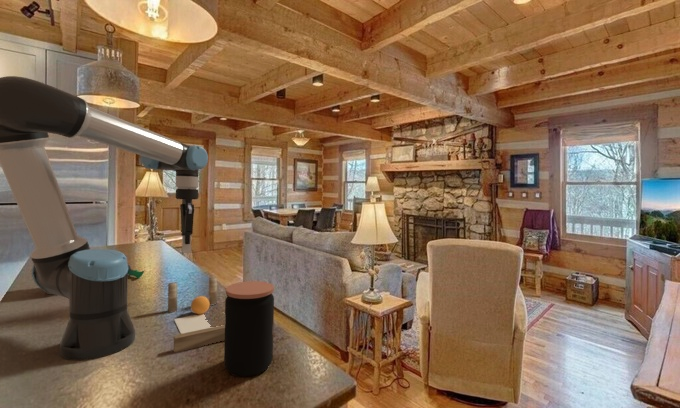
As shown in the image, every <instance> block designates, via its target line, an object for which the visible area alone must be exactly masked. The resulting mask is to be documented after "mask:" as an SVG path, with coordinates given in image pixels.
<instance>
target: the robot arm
mask: <svg viewBox="0 0 680 408" xmlns="http://www.w3.org/2000/svg"><path fill="white" fill-rule="evenodd" d="M49 134H55V135H59V136H63V137H65V138H69V139H72V138H75V137H77V136H78V137H80V138H83V139H87V140H90V141H94V142H97V143H100V144H103V145H107V146H110V147H112V148H117V149H119V150H123V151H126V152H129V153H131V154H134V155H139V156H140V161H141V162H140V163H141V164H142V166H143V167H144V168H145V169H147V170H154V171H155V170H158V171H159V170H160V171H172V172H175V187H176V189H175V198H176V200H182V201H181V203H180V206H179V209H180V228H181V229H180V232H181V238H182V239H181V242H182V243H181V245H182V247H181V250H182V251H181V253H182V254H191V253H192V235H193V232H194V231H193V230H194V229H193V227H194V215H195V204H193V200H198V199H199V189H198V188H199V183H200V182H201V180H200V179H199V175H200V174H199V173H200V172H199V171H200V170H202V169H205V167H206V166H207V164H208V161H209V156H208V155H209V154H208V152H207V150H206V149H205V148H204V147H202V146H201V145H195V144H192V145H189V144H186V143H183V142H180V141H177V140H175V139H173V138H169V137H168V136H164V135H163V134H160V133H158V132H155V131H153V130H150V129H148V128H144V127H143V126H140V125H137V124H135V123H133V122H130V121H127V120H124V119H122V118H119V117H118V116H115V115H114V114H109V113H108V112H104V111H102V110H99V109H98V108H94V107H92V106H89V105H88V102H87V100H85V99H84V98H82V97H79V96H77V95H74V94H72V93H69V92H67V91H64V90H62V89H59V88H56V87H55V86H52V85H49V84H47V83H43V82H41V81H39V80H36V79H32V78H29V77H24V76H15V75H12V76H11V75H9V76H6V75H5V76H1V77H0V167H1V169H2V171H3V174H4V176H5V178H6V181H7V183H8V185H9V188H10V191H11V193H12V196H13V197H14V200H15V201H16V204H17V206H18V209H19V212H20V214H21V217H22V218H23V221H24V223H25V226H26V227H27V230H28V233H29V235H30V237H31V240H32V243H33V245H34V249H33V251H32V252H31V253H30V255H29V256H30V259H31V261H32V264H33V265H34V266H33V265H32V268H31V278H32V280H33V282H34V284H36V286H37V287H38V288H40V289H41V290H42V291H44V292H45V293H46V292H48V293H50V294H49V295H56V296H60V297H63V298H65V299H69V300H68V301H69V302H68V303H69V304H68V305H69V307H68V308H69V309H68V310H69V316H68V317H69V319H68V322H67V325H66V327H65V330H64V332H63V334H62V338H61V341H60V343H59V356H60V357H61V358H63V359H65V360H70V361H81V360H82V361H83V360H90V359H91V360H92V359H97V358H100V357H105V356H109V355H111V354H114V353H117V352H120V351H121V350H124V349H126V348H128V347H129V346H131V345H132V344H133V343H134V341H135V340H136V329H135V326H134V323H133V321H132V318H131V316H130V314H129V311H128V276H129V274H128V265H129V264H128V257H127V256H126V254H125V253H123V252H122V251H119V250H116V249H105V248H91V247H90V245H89V242H88V240H87V239H86V238H85V237H82V236H79V235H78V232H77V231H76V228H75V225H74V222H73V219H72V217H71V215H70V212H69V209H68V207H67V204H66V201H65V199H64V195H63V194H62V190H61V188H60V185H59V183H58V179H57V177H56V174H55V172H54V168H53V167H52V164H51V163H52V162H51V161H50V158H49V156H48V154H47V150H46V148H45V146H46V144H47V143H48V141H49V140H50V136H49Z"/></svg>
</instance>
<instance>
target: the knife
mask: <svg viewBox="0 0 680 408" xmlns="http://www.w3.org/2000/svg"><path fill="white" fill-rule="evenodd" d="M144 273H145V270H142V271H139V270H138V269H135V270H134V269H132V267H131V265H130V264H128V276H129V277H130V276H132V277H135V278H136V279H140V278H141V277H142V276H143V274H144Z"/></svg>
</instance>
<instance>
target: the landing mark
mask: <svg viewBox="0 0 680 408" xmlns="http://www.w3.org/2000/svg"><path fill="white" fill-rule="evenodd" d="M205 319H206V317H205V315H204V313H203V314H194V315H189V316H184V317H178V318H173V320H174V322H175V325H176V327H177V328H178V331H179V334H183V333H188V332H192V331H197V330H202V329H207V328H212V327H210V326H211V325H210V324H209V323H208V322H207V321H208V320H205Z"/></svg>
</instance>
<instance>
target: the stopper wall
mask: <svg viewBox="0 0 680 408" xmlns="http://www.w3.org/2000/svg"><path fill="white" fill-rule="evenodd" d="M224 340H225V325H221V326H216V327H212V328H207V329H202V330H197V331H192V332H188V333H183V334H181V333H178V334H175V335H173V352H174V353H175V354H176V353H179V352H183V351H188V350H192V349H195V348H201V347H205V346H208V344H209V345H213V344H212V343H214V344H217V343H216V342H218V343H221V342H220V341H222V342H225V341H224ZM204 345H205V346H204Z"/></svg>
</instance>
